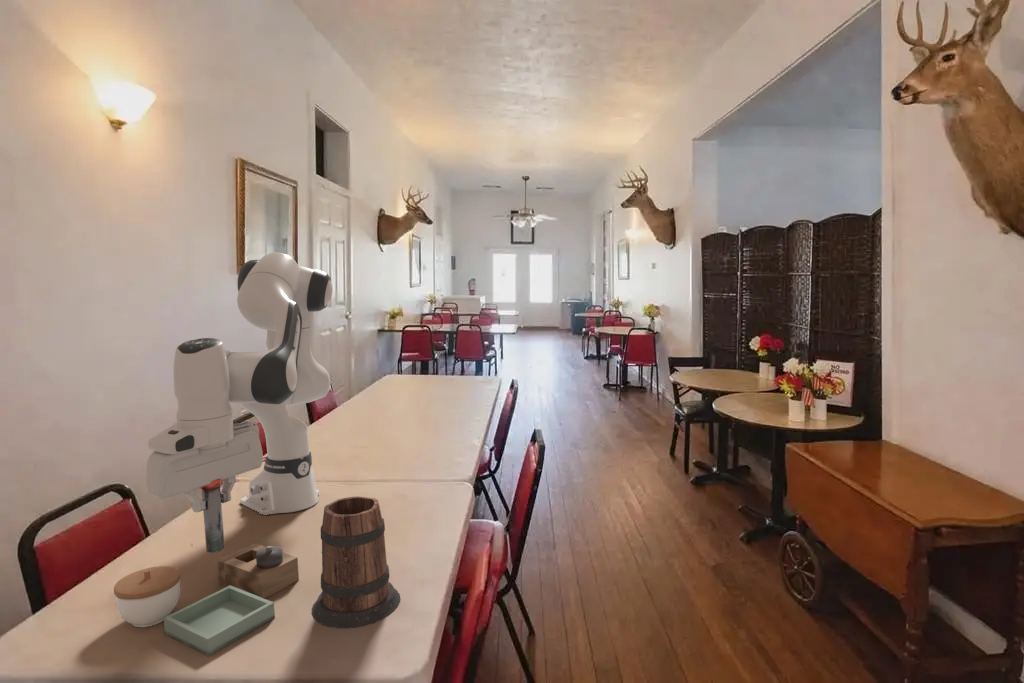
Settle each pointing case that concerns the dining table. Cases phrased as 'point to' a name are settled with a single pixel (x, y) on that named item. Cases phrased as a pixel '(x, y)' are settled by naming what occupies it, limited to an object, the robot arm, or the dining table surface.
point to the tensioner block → (258, 570)
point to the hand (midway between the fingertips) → (212, 506)
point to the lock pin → (213, 516)
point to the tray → (219, 619)
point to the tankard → (354, 566)
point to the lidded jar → (148, 595)
